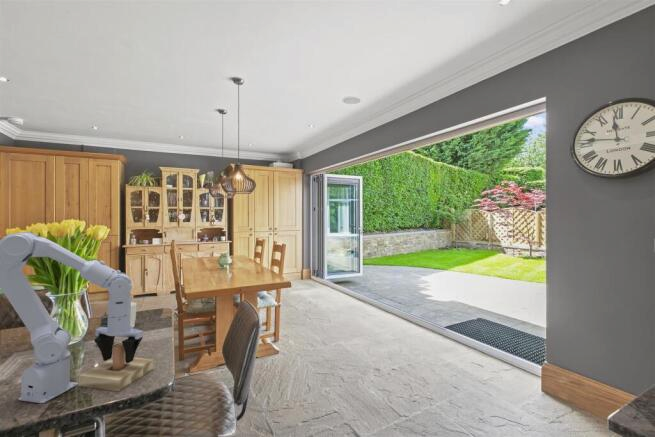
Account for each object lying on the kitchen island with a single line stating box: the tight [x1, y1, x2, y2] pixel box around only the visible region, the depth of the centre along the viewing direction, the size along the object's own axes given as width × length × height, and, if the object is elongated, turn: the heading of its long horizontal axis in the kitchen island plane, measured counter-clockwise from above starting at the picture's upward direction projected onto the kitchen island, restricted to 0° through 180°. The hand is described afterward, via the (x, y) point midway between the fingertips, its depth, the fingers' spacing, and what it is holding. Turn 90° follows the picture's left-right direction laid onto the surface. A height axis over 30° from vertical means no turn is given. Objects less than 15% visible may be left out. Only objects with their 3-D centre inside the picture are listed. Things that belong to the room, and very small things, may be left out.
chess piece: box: [95, 312, 115, 347], centre depth 117 cm, size 6×6×12 cm
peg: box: [112, 342, 125, 371], centre depth 93 cm, size 3×3×10 cm
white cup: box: [130, 301, 138, 328], centre depth 135 cm, size 8×8×10 cm
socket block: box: [78, 357, 154, 392], centre depth 93 cm, size 13×13×3 cm
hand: (118, 360), depth 93 cm, fingers open, 7 cm apart
